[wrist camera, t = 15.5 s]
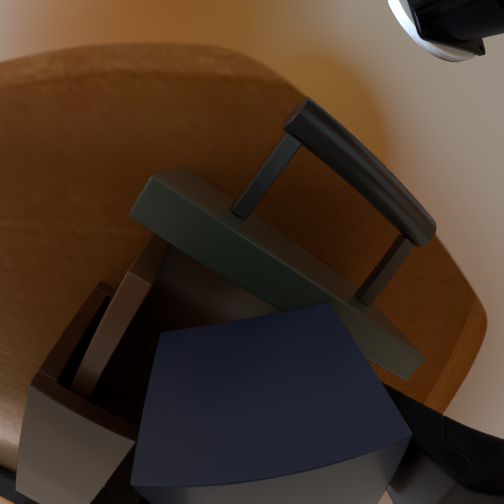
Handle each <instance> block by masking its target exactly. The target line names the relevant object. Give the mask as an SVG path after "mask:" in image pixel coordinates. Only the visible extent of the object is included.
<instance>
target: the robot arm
mask: <svg viewBox="0 0 504 504" xmlns="http://www.w3.org/2000/svg"><path fill="white" fill-rule="evenodd" d="M407 2H408V5H409V8H410V11H411V14H412V17H413V21H414V24H415V27H416V31H417V34H418V36H419V37H420V38H421V39H422V40H424V41H428V42H432V43H436V44H441V45H445V46H448V47H452V48H456V49H459V50H463V51H466V52H469V53H473V54H476V55H479V56H481V55H485V48H484V44H483V40H482V38H484V37H489V36H493V35H497V34H502V33H504V0H407ZM424 32H425V33H426V34H425V33H424ZM381 383H382V385H383V386H384V388H385V389H386V391H387V393H388V394H389V396H390V397H391V399H392V401H393V402H394V404H395V406H396V407H397V409H398V411H399V412H400V414H401V416H402V417H403V419H404V421H405V422H406V424H407V426H408V427H409V429H410V431H411V432H412V437H411V439H410V442H409V444H408V446H407V448H406V451H405V453H404V455H403V457H402V459H401V461H400V463H399V465H398V467H397V469H396V471H395V473H394V475H393V477H392V479H391V481H390V483H389V485H388V487H387V488H386V490H387V492H388V494H389V496H390V498H391V499H392V502H393V503H394V504H504V439H501V438H498V437H495V436H492V435H489V434H486V433H483V432H481V431H478V430H475V429H473V428H470V427H467V426H465V425H463V424H461V423H459V422H456V421H455V420H453V419H450V418H448V417H447V416H443V414H441V413H439V412H437V411H435V410H433V409H431V408H429V407H427V406H425V405H423V404H422V403H420V402H418V401H416V400H414V399H412V398H410V397H409V396H407V395H405V394H403V393H401V392H399V391H398V390H396V389H394V388H392V387H390V386H388V385H387V384H385V383H383V382H381ZM137 440H138V439H137ZM136 445H137V441H136V442H135V443H134V445H133V446H132V447H131V449H130V450H129V452H128V453H127V454H126V456H125V457H124V458H123V460H122V461H121V463H120V464H119V465H118V467H117V468H116V469H115V471H114V472H113V474H112V475H111V476H110V478H109V479H108V480H107V482H106V483H105V484H104V486H105V487H102V488H101V490H100V491H99V492H98V494H97V495H96V496H95V498H94V499H93V500H92V501H91V503H90V504H151V503H149V502H148V501H147V500H146V499H145V498H144V497H143V496H142V495H140V494H139V493H138V492H137V491H136V490H135V489H134V488H133V487H132V486H131V484H130V482H131V476H132V469H133V463H134V457H135V451H136Z"/></svg>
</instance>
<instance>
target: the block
mask: <svg viewBox="0 0 504 504" xmlns="http://www.w3.org/2000/svg"><path fill="white" fill-rule="evenodd" d="M411 437H412V432H411V431H410V429H409V427H408V426H407V424H406V422H405V421H404V419H403V417H402V416H401V414H400V412H399V411H398V409H397V407H396V406H395V404H394V402H393V401H392V399H391V397H390V396H389V394H388V393H387V391H386V389H385V388H384V386H383V385H382V383H381V381H380V380H379V378H378V376H377V375H376V373H375V372H374V370H373V368H372V367H371V365H370V364H369V362H368V361H367V359H366V357H365V356H364V354H363V353H362V351H361V350H360V348H359V346H358V345H357V343H356V342H355V340H354V339H353V337H352V336H351V334H350V332H349V331H348V329H347V328H346V326H345V325H344V323H343V322H342V320H341V319H340V317H339V316H338V314H337V313H336V311H335V310H334V308H333V307H332V305H331V304H330V302H326V303H321V304H317V305H312V306H308V307H303V308H298V309H293V310H289V311H284V312H279V313H274V314H269V315H263V316H258V317H253V318H247V319H242V320H236V321H231V322H225V323H219V324H213V325H207V326H201V327H194V328H188V329H181V330H174V331H167V332H161V334H160V338H159V342H158V346H157V350H156V354H155V358H154V362H153V367H152V371H151V376H150V380H149V385H148V389H147V394H146V399H145V403H144V408H143V413H142V418H141V423H140V429H139V434H138V440H137V445H136V451H135V457H134V463H133V469H132V476H131V482H130V484H131V486H132V487H133V488H134V489H135V490H136V491H137V492H138V493H139V494H140V495H142V496H143V497H144V498H145V499H146V500H147V501H148V502H149V503H151V504H378V502H379V501H380V499H381V497H382V496H383V494H384V492H385V490H386V488H387V487H388V485H389V483H390V481H391V479H392V477H393V475H394V473H395V471H396V469H397V467H398V465H399V463H400V461H401V459H402V457H403V455H404V453H405V451H406V448H407V446H408V444H409V442H410V439H411Z"/></svg>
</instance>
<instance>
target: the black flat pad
mask: <svg viewBox="0 0 504 504" xmlns="http://www.w3.org/2000/svg"><path fill="white" fill-rule="evenodd" d="M0 496H2V497H3V498H5V499H7V500H9V501H11V502H13V503H15V504H40V503H38V502H36V501H34V500H32V499H30V498H29V497H27V496H25V495H23V494H21V493H20V492H18V491H16V475H15V474H14V473H11V472H9V471H7V470H5V469H2V468H0Z"/></svg>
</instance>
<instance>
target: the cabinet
mask: <svg viewBox="0 0 504 504" xmlns="http://www.w3.org/2000/svg"><path fill="white" fill-rule="evenodd" d="M115 292H116V291H115V290H113V289H112V288H110V287H109V286H107V285H106V284H104V283H102V282H101V281H100V282H99V283H98V285H97V286H96V287H95V289H94V290H93V291H92V293H91V294H90V295H89V297H88V298H87V299H86V301H85V302H84V303H83V305H82V306H81V307H80V309H79V310H78V312H77V313H76V314H75V316H74V317H73V319H72V320H71V322H70V323H69V324H68V326H67V327H66V329H65V330H64V332H63V333H62V335H61V336H60V338H59V339H58V341H57V342H56V344H55V345H54V347H53V348H52V350H51V351H50V353H49V354H48V356H47V357H46V359H45V361H44V362H43V364H42V365H41V367H40V368H39V370H38V372H37V373H36V375H35V376H34V378H33V380H32V381H31V383H30V386H29V390H28V395H27V400H26V405H25V410H24V416H23V422H22V428H21V435H20V443H19V451H18V461H17V474H16V491H18V492H20V493H21V494H23V495H25V496H27V497H29V498H30V499H32V500H34V501H36V502H38V503H40V504H90V503H91V501H92V500H93V499H94V498H95V496H96V495H97V494H98V492H99V491H100V490H101V488H102V487H105V486H104V484H105V483H106V482H107V480H108V479H109V478H110V476H111V475H112V474H113V472H114V471H115V469H116V468H117V467H118V465H119V464H120V463H121V461H122V460H123V458H124V457H125V456H126V454H127V453H128V452H129V450H130V449H131V447H132V446H133V445H134V443H135V442H136V441H137V439H138V434H139V429H140V426H138V425H136V424H134V423H132V422H129V421H127V420H125V419H123V418H121V417H119V416H117V415H114V414H112V413H110V412H108V411H106V410H104V409H102V408H101V407H99V406H97V405H95V404H93V403H91V402H89V401H87V400H86V399H84V398H82V397H80V396H78V395H77V394H75V393H73V392H71V391H70V387H71V385H72V383H73V380H74V378H75V376H76V373H77V371H78V369H79V366H80V364H81V362H82V360H83V357H84V355H85V353H86V351H87V349H88V347H89V344H90V342H91V340H92V338H93V336H94V334H95V332H96V330H97V328H98V326H99V324H100V322H101V320H102V318H103V316H104V314H105V312H106V310H107V308H108V306H109V304H110V302H111V300H112V298H113V296H114V294H115Z"/></svg>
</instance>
